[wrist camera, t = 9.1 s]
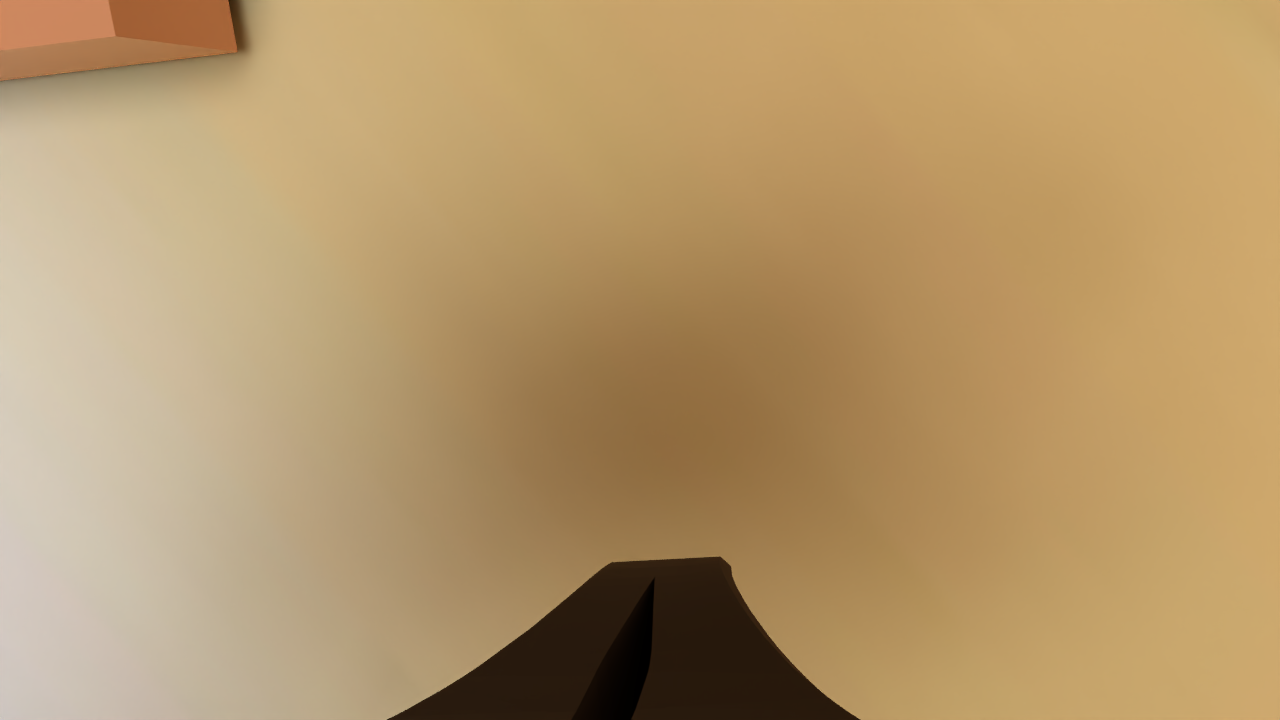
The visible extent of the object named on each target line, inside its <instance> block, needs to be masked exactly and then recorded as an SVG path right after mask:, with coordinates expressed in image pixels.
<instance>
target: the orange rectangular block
mask: <svg viewBox="0 0 1280 720" xmlns="http://www.w3.org/2000/svg"><path fill="white" fill-rule="evenodd" d="M234 52H238V51H237V46H236V40H235V35H234V29H233V24H232V18H231V13H230V8H229V2H228V0H0V81H2V80H10V79H18V78H27V77H35V76H43V75H52V74H60V73H68V72H76V71H85V70H93V69H101V68H110V67H118V66H126V65H135V64H143V63H151V62H160V61H168V60H176V59H184V58H193V57H201V56H209V55H218V54H226V53H234Z"/></svg>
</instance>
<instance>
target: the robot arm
mask: <svg viewBox="0 0 1280 720" xmlns="http://www.w3.org/2000/svg"><path fill="white" fill-rule="evenodd" d="M387 720H860V719H858V718H857V717H855V716H854V715H852V714H850V713H849V712H847V711H846V710H845V709H843V708H842V707H840V706H839V705H838V704H836V703H835V702H833V701H832V700H831V699H829V698H828V697H827V696H826V695H824V694H823V693H822V692H821V691H820V690H819V689H817V688H816V687H815V686H814V685H813V684H812V683H811V682H810V681H809V680H808V679H807V678H806V677H805V676H804V675H803V674H802V673H801V672H800V671H799V670H798V669H797V668H796V667H795V666H794V665H793V664H792V663H791V662H790V660H789V659H788V658H787V657H786V656H785V655H784V654H783V653H782V652H781V650H780V649H779V648H778V647H777V646H776V645H775V643H774V642H773V641H772V640H771V638H770V637H769V636H768V635H767V633H766V632H765V630H764V629H763V628H762V626H761V625H760V623H759V622H758V621H757V619H756V618H755V616H754V615H753V614H752V612H751V611H750V609H749V608H748V606H747V604H746V603H745V601H744V600H743V598H742V596H741V594H740V592H739V590H738V589H737V586H736V584H735V582H734V580H733V577H732V571H731V566H730V565H729V564H728V563H727V562H726V561H725V560H723V559H722V558H721V557H704V558H686V559H667V560H648V561H630V562H611V563H610V564H608V565H607V566H605V567H604V568H602V569H601V570H600V571H599V572H597V573H596V574H595V575H594V576H592V577H591V578H590V579H589V580H588V581H587V582H585V583H584V584H583V585H582V586H581V587H580V588H578V589H577V590H576V591H575V592H574V593H573V594H571V595H570V596H569V597H568V598H567V599H565V600H564V601H563V602H562V603H561V604H559V605H558V606H557V607H556V608H555V609H553V610H552V611H551V612H550V613H549V614H547V615H546V616H545V617H544V618H543V619H541V620H540V621H539V622H538V623H537V624H535V625H534V626H533V627H532V628H530V629H529V630H528V631H526V632H525V633H524V634H522V635H521V636H520V637H518V638H517V639H515V640H514V641H513V642H511V643H510V644H509V645H507V646H506V647H505V648H503V649H502V650H500V651H499V652H498V653H496V654H495V655H494V656H492V657H491V658H490V659H488V660H487V661H485V662H484V663H483V664H481V665H480V666H479V667H477V668H476V669H474V670H473V671H471V672H470V673H468V674H467V675H465V676H464V677H462V678H460V679H459V680H457V681H456V682H454V683H452V684H451V685H449V686H447V687H446V688H444V689H442V690H441V691H439V692H437V693H435V694H434V695H432V696H430V697H428V698H427V699H425V700H423V701H421V702H420V703H418V704H416V705H414V706H412V707H411V708H409V709H407V710H405V711H403V712H401V713H399V714H397V715H395V716H394V717H391V718H389V719H387Z"/></svg>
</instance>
